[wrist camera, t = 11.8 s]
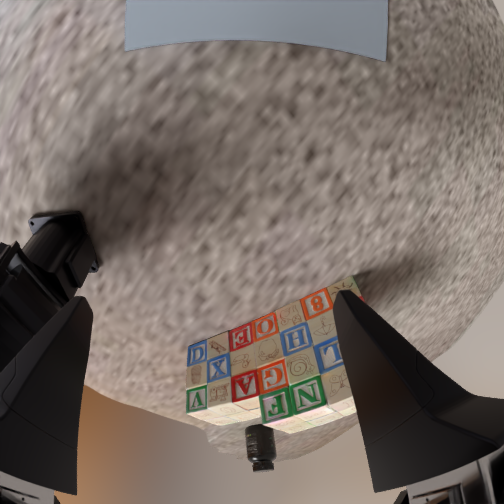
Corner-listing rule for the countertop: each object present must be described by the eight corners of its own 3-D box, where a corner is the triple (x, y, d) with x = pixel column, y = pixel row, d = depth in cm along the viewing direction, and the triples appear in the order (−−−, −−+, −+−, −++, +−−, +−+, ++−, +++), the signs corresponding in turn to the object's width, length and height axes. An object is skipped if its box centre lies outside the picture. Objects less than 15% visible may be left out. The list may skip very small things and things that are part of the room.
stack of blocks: (216, 365, 36) (219, 448, 26) (186, 345, 32) (183, 438, 23) (364, 304, 31) (402, 394, 21) (352, 272, 27) (399, 376, 18)
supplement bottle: (246, 432, 59) (250, 473, 50) (243, 425, 55) (247, 471, 46) (272, 429, 60) (278, 470, 50) (272, 422, 55) (278, 467, 46)
